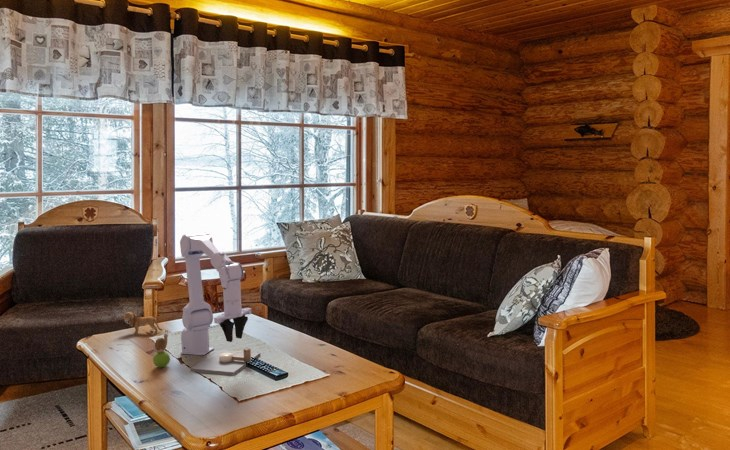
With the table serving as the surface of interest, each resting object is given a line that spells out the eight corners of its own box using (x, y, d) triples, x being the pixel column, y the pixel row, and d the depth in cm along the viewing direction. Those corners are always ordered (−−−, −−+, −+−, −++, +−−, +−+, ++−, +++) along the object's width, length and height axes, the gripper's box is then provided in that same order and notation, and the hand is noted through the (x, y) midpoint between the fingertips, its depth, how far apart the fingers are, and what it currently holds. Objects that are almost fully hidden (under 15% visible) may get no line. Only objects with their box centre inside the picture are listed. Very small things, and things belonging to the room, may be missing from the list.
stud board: (190, 371, 207) (190, 368, 207) (220, 352, 226) (220, 349, 226) (238, 375, 202) (238, 372, 202) (264, 355, 221) (264, 352, 221)
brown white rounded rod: (216, 361, 213) (215, 349, 212) (223, 356, 217) (223, 345, 217) (247, 364, 209) (246, 352, 209) (253, 359, 214) (253, 347, 214)
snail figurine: (175, 364, 214) (173, 330, 213) (163, 370, 208) (161, 336, 207) (162, 362, 216) (160, 329, 215) (150, 368, 210) (148, 334, 209)
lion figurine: (124, 335, 249) (122, 314, 248) (126, 331, 254) (125, 310, 253) (161, 333, 252) (160, 311, 251) (163, 329, 257) (162, 308, 256)
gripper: (223, 306, 197) (225, 347, 198) (256, 296, 208) (258, 336, 210) (209, 303, 201) (211, 343, 203) (242, 294, 213) (244, 332, 214)
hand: (234, 339), depth 207 cm, fingers open, 4 cm apart
